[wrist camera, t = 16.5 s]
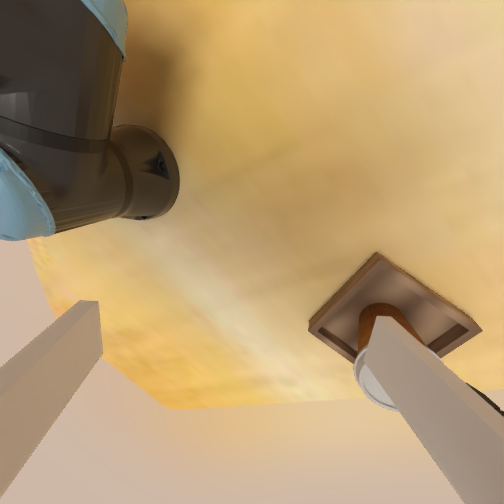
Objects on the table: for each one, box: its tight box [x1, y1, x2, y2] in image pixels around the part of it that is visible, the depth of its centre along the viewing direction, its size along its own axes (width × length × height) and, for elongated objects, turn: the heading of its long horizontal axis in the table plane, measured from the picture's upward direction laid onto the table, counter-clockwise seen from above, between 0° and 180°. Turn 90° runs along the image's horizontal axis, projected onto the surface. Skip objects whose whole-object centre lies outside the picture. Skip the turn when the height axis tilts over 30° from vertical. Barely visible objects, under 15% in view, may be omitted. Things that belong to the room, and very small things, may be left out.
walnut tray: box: [308, 252, 483, 364], centre depth 37 cm, size 16×16×3 cm
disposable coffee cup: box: [354, 303, 443, 412], centre depth 32 cm, size 10×10×12 cm
